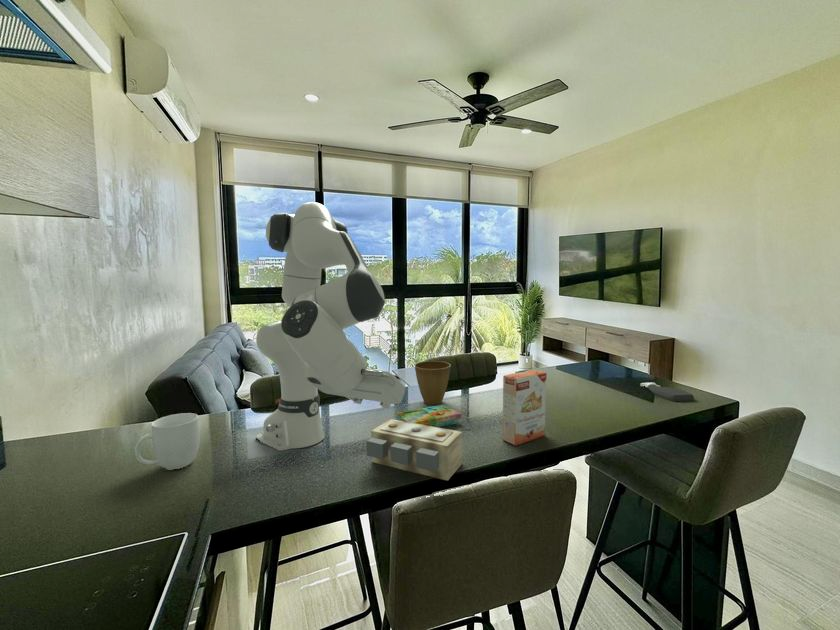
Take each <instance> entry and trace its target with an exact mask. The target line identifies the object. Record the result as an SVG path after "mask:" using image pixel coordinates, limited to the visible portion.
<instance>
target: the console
mask: <svg viewBox="0 0 840 630" xmlns="http://www.w3.org/2000/svg"><path fill="white" fill-rule="evenodd" d="M370 434H371V436H370V439H371V438H376V439H381V440H386V441H388V456H386V457H385V458H384V459H379V458H375V457H371V463H373V464H374V463H375V464H379V465H383V466H387V467H390V468H394V469H397V470H398V469H399V470H403V471H407V472H411V473H415V474H419V475H422V476H428V477H432V478H435V479H439V480H442V481H443V480H444V481H447V482H448V481H449V480H450V479H451V477H452V476H453V475H454V474H455V473H456V472H457V470H458V469H459V468H460V467H461V466H462V465H463V432H462V431H460V430H453V429H448V428H443V427H432V426H426V425H421V424H415V423H410V422H404V421H402V420H399V419H398V420H397V419H391V418H390V419H388V420H387V421H385V422H383V423H382V424H380V425H379V426H376V427H375V428H374V429H372V430H371V431H370ZM394 443H400V444H405V445H409V446H412V458H413V461H412V462H411V463H410V464H409V465H404V464H400V463H396V462H392V461H391V446H392V445H393V444H394ZM420 448H424V449H428V450H433V451H438V452H439V468H438V469H437V470H436V471H435V472H433V471H429V470H425V469H421V468H417V465H416V452H417V451H418V450H419V449H420Z"/></svg>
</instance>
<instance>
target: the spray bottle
mask: <svg viewBox="0 0 840 630" xmlns="http://www.w3.org/2000/svg"><path fill="white" fill-rule="evenodd" d="M644 386H645V388H647V389H648V390H649V391H650V392H652V393H653V394H654V395H656V396H658V397H661V398H663V399H666V400H668V401H672V402H692V401H694V400H695V396H694V394H692V393H691V392H688V391H685V390H682V389H679V388H675V387H668V386H667V387H666V386H664V387H663V386H661V385H658V384H656V382H641V383H640V387H644Z"/></svg>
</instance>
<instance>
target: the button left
mask: <svg viewBox="0 0 840 630" xmlns="http://www.w3.org/2000/svg"><path fill="white" fill-rule="evenodd" d="M366 456H368V457H371V458H372V457H375V458H379V459H384V458H385V457H386V456H388V441H386V440H381V439H376V438H371V437H370V438H369V439H368V440H366Z"/></svg>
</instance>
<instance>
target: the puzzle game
mask: <svg viewBox="0 0 840 630" xmlns="http://www.w3.org/2000/svg"><path fill="white" fill-rule="evenodd" d="M395 416H396V418H397V419H398V420H399V421H404V422H410V423H415V424H421V425H426V426H432V427H438V428H442V427H445V426H451V425H455V424H458V423H459V421H460V420H462V413H460V412H458V411H456V410H455V409H453V408H451V407H450V406H448V405H447V404H444V403H443V404H437V405H431V406H427V407H422V408H418V409H412V410H407V411H401V412H396V414H395Z"/></svg>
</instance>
